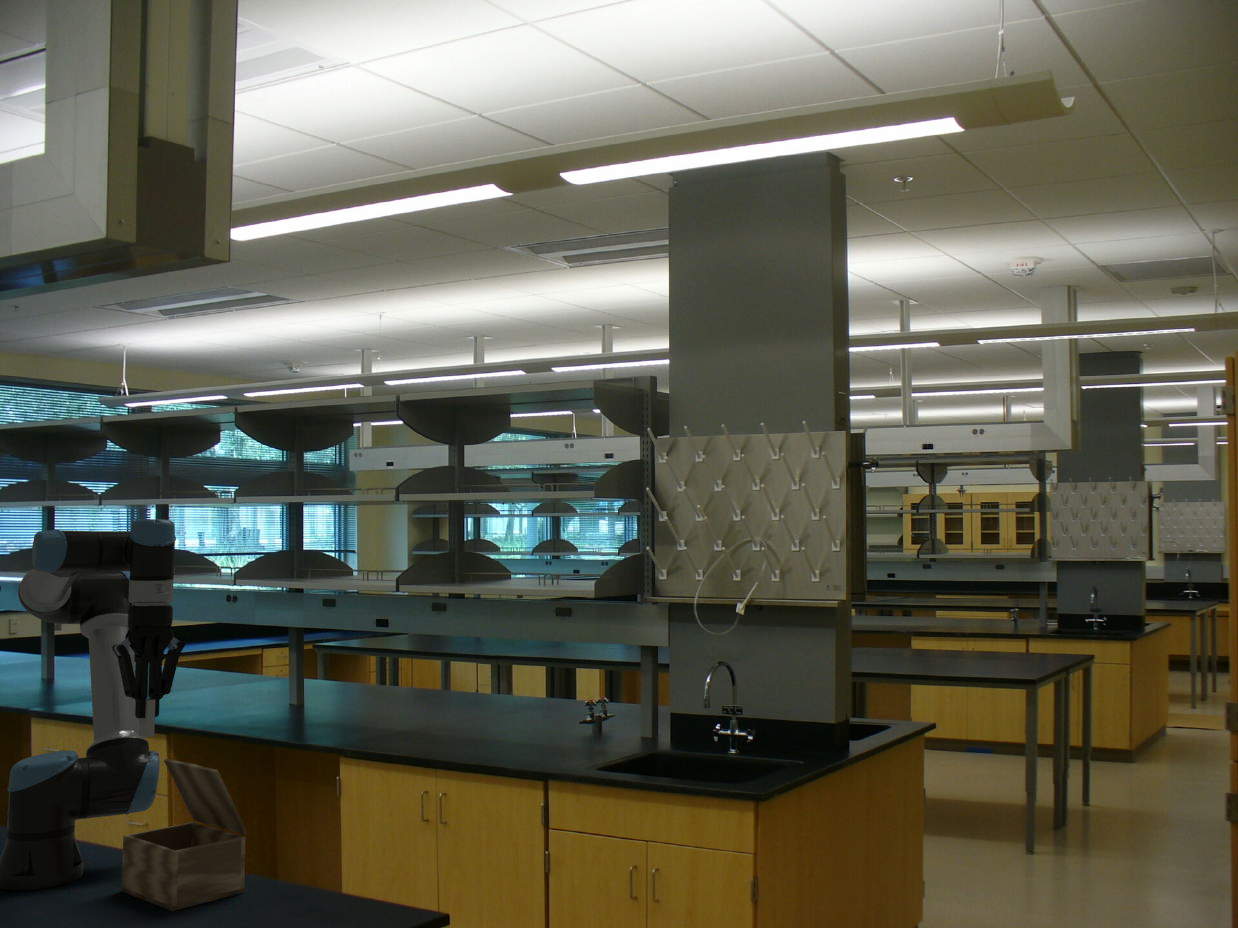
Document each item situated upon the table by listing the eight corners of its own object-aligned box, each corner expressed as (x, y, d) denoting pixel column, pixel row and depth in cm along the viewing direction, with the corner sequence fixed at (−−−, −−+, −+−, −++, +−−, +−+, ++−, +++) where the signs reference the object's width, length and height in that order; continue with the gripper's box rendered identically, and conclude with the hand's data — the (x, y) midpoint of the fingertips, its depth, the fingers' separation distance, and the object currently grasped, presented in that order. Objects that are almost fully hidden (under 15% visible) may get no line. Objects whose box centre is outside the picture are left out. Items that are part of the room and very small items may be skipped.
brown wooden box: (121, 891, 207) (123, 835, 208) (191, 874, 218) (193, 821, 219) (172, 910, 196) (174, 851, 196) (244, 892, 206) (245, 836, 207)
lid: (163, 760, 215) (166, 757, 215) (193, 820, 219) (196, 817, 219) (215, 771, 203) (218, 769, 204) (245, 834, 207) (248, 832, 208)
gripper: (126, 605, 197) (121, 742, 195) (195, 603, 207) (191, 733, 205) (105, 604, 202) (100, 738, 200) (173, 602, 212) (169, 729, 210)
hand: (146, 735), depth 203 cm, fingers closed
